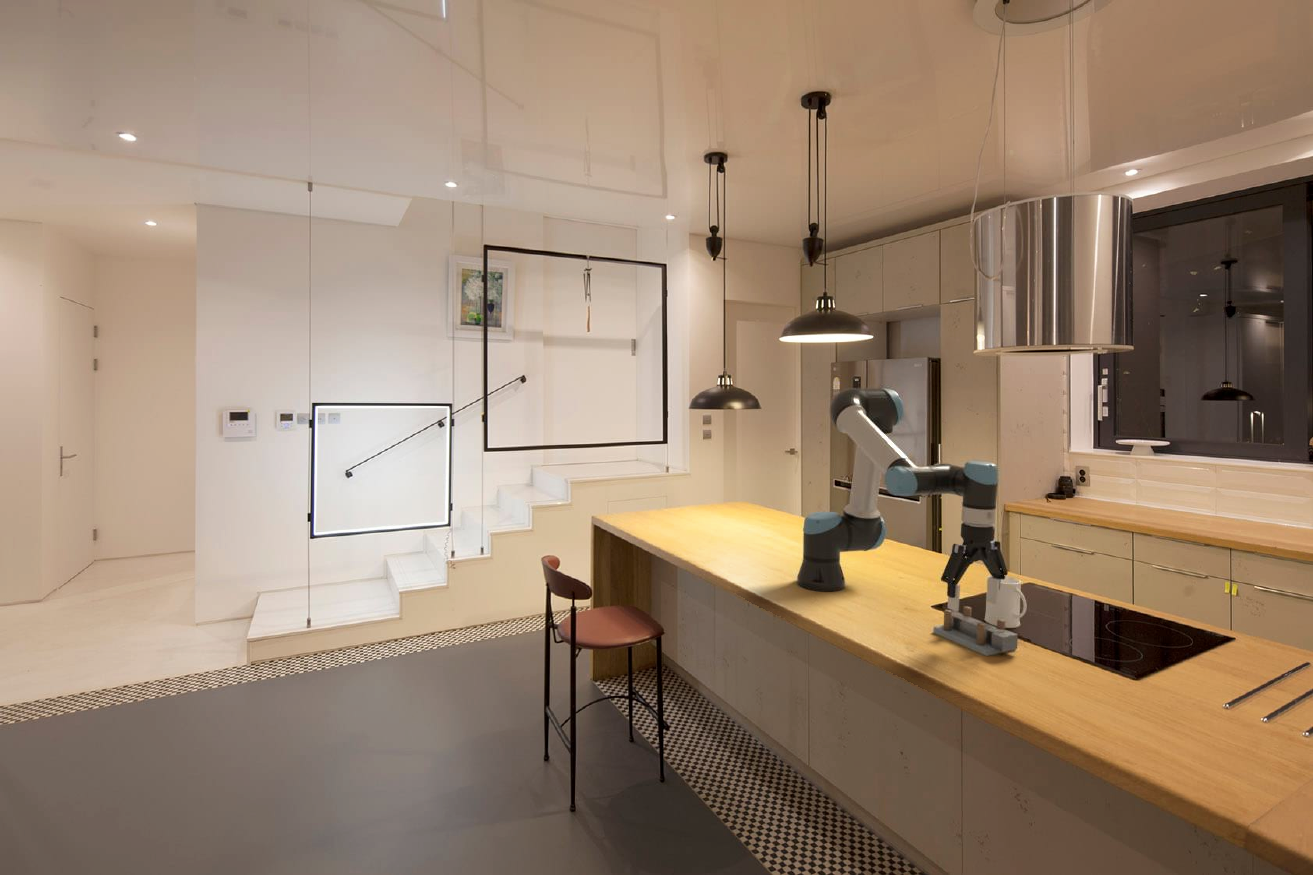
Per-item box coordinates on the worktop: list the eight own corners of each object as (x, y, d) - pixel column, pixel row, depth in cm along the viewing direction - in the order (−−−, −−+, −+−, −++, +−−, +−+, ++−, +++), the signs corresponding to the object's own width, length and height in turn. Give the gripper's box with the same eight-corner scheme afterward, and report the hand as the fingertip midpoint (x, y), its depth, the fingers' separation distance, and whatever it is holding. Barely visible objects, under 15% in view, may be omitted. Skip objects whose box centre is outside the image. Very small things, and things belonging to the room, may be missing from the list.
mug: (1036, 631, 165) (1038, 587, 164) (1007, 633, 164) (1009, 588, 163) (1005, 616, 177) (1006, 574, 176) (977, 617, 175) (979, 575, 175)
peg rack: (933, 632, 164) (934, 608, 164) (961, 627, 168) (962, 603, 168) (986, 655, 150) (987, 629, 149) (1015, 649, 153) (1016, 623, 153)
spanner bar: (941, 625, 165) (942, 612, 165) (955, 623, 167) (956, 610, 167) (1002, 651, 148) (1002, 637, 148) (1017, 648, 150) (1017, 634, 150)
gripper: (952, 531, 149) (948, 617, 151) (1026, 523, 158) (1021, 604, 160) (928, 524, 155) (924, 607, 157) (1000, 517, 165) (995, 595, 167)
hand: (973, 606), depth 159 cm, fingers open, 13 cm apart
